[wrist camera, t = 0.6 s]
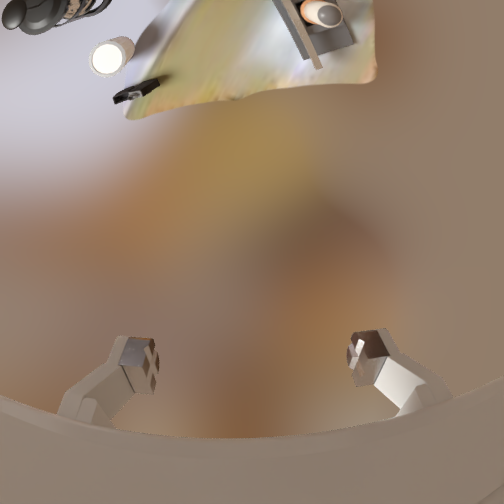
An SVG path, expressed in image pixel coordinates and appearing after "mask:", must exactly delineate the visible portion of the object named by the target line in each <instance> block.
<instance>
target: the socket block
mask: <svg viewBox="0 0 504 504" xmlns="http://www.w3.org/2000/svg"><path fill="white" fill-rule="evenodd" d="M272 1H273V3H274V4H275V6H276V8H277V10H278V11H279V13H280V15H281V17H282V19H283V21H284V22H285V24H286V26H287V28H288V30H289V32H290V34H291V36H292V38H293V40H294V42H295V44H296V46H297V48H298V50H299V52H300V54H301V56H302V58H303V60H306V59H309V58H310V57H309V55H308V52H307V50H306V48H305V46H304V44H303V42H302V40H301V38H300V36H299V34H298V32H297V30H296V28H295V26H294V24H293V22H292V20H291V18H290V16H289V14H288V13H287V11H286V9H285V7H284V5H283V3H282V2H281V0H272ZM290 1H291V2H292V4H293V6H294V8H295V10H296V12H297V14H298V16H299V18H300V20H301V22H302V24H303V26H304V28H305V30H306V32H307V34H308V36H309V38H310V40H311V42H312V44H313V47H314V49H315V51H316V53H317V55H320V54H323V53H326V52H329V51H332V50H336V49H339V48H342V47H345V46H349V45H352V44H353V41H352V38H351V36H350V33H349V31H348V28H347V26H346V23H345V21H344V18H343V19H342V21H341V23H340V24H339V25H338V26H336V27H333V28H327V27H324V26H321V25H319V24H312V23H310V22H307V21H306V20H305V19H304V18H303V17H302V16H301V15H300V13H299V11H298V6H299V4H300V3H301V2H302V1H304V0H290ZM323 1H325V2H328V3H333V4H335V5H337V3H336V0H323ZM337 6H338V5H337Z"/></svg>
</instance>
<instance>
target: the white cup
mask: <svg viewBox="0 0 504 504" xmlns="http://www.w3.org/2000/svg"><path fill="white" fill-rule="evenodd" d="M134 51H135V46H134V43H133V42H132V40H131V39H129V38H127V37H117V38H114V39H110V40H107V41H104V42H101V43H99V44H98V45H96V46H95V47H94V48H93V49H92V51H91V53H90V55H89V65H90V68H91V70H92V71H93V72H94V73H95V74H96V75H98V76H100V77H111V76H114V75H116V74H117V73H119V72H120V71H121V70H122V68H123V67H124V66H125V65H126V64H127V62H128V61H129V60H130V59H131V57H132V56H133V55H134Z"/></svg>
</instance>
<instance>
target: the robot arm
mask: <svg viewBox="0 0 504 504" xmlns="http://www.w3.org/2000/svg"><path fill="white" fill-rule="evenodd" d="M351 341H352V343H351V344H350V345H349V346H348V349H347V363H348V366H349V367H350V368H351V369H352V370H354V371H353V373H352V376H353V379H354V382H355V385H356V387H358V386H365V385H371V384H374V386H375V387H377V388H378V389H379V390H380V391H381V392H382V393H383V394H385V395H386V396H387V397H388V398H389V399H390V400H391V401H392V402H393V403H394V404H396V405H397V406H398V407H399V408H400V411H399V412H398V414H397V415H396V416H395V417H393V418H389V419H385V420H381V421H377V422H372V423H368V424H363V425H359V426H353V427H348V428H343V429H337V430H331V431H325V432H318V433H311V434H302V435H293V436H282V437H269V438H268V437H267V438H245V439H211V438H188V437H174V436H163V435H154V434H146V433H139V432H131V431H126V430H120V429H116V427H115V426H114V425H113V423H112V422H111V421H110V420H111V419H112V418H113V417H114V416H115V415H116V414H117V413H118V412H119V411H120V409H121V408H122V407H123V406H124V405H125V404H126V403H127V402H128V401H129V400H130V398H131V397H132V396H133V395H134V394H135V393H141V394H154V390H155V386H156V380H155V376H156V375H157V374H158V372H159V355H158V352H157V351H155V350H154V348H155V343H154V339H152V338H142V337H128V336H118V337H117V338H116V340H115V343H114V345H113V348H112V350H111V353H110V356H109V358H108V360H107V363H106V364H102V365H101V366H99V367H98V368H97V369H95V370H94V371H93V372H91V373H90V374H89V375H87V376H86V377H85V378H84V379H82V380H81V381H79V382H78V383H77V384H75V385H74V386H73V387H72V388H70V389H69V390H68V391H66V392H65V394H64V397H63V400H62V402H61V404H60V407H59V410H58V412H57V415H56V414H52V413H49V412H45V411H43V410H40V409H37V408H33V407H31V406H28V405H25V404H22V403H20V402H17V401H15V400H12V399H10V398H7V397H5V396H2V395H0V504H504V376H501V377H499V378H497V379H495V380H493V381H491V382H489V383H487V384H485V385H483V386H480V387H478V388H476V389H474V390H471V391H469V392H467V393H464V394H462V395H459V396H457V397H454V398H453V396H452V394H451V392H450V390H449V388H448V387H447V385H446V383H445V381H444V379H443V378H442V377H440V376H439V375H437V374H436V373H434V372H432V371H431V370H429V369H428V368H426V367H425V366H423V365H421V364H420V363H418V362H417V361H415V360H413V359H412V358H410V357H409V356H407V355H405V354H401V353H400V351H399V349H398V347H397V346H396V344H395V342H394V340H393V339H392V337H391V335H390V333H389V331H388V330H387V329H386V328H383V329H376V330H368V331H361V332H354V333H353V334H352V337H351Z"/></svg>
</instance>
